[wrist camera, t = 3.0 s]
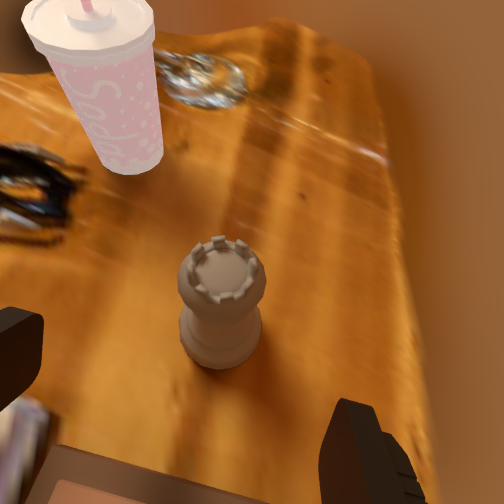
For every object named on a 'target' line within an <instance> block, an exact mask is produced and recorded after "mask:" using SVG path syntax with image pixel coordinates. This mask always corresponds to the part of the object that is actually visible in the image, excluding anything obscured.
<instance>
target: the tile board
mask: <svg viewBox="0 0 504 504" xmlns="http://www.w3.org/2000/svg"><path fill="white" fill-rule="evenodd" d="M25 504H269V503H265V502H262V501H258V500H255V499H251V498H248V497H244V496H241V495H237V494H234V493H230V492H227V491H223V490H220V489H216V488H213V487H209V486H206V485H202V484H199V483H195V482H192V481H188V480H185V479H181V478H178V477H174V476H171V475H167V474H164V473H160V472H157V471H153V470H150V469H146V468H142V467H139V466H135V465H132V464H128V463H125V462H121V461H118V460H114V459H111V458H107V457H104V456H100V455H97V454H93V453H90V452H86V451H83V450H79V449H76V448H72V447H69V446H65V445H53V446H52V447H51V449H50V451H49V454H48V456H47V458H46V460H45V462H44V464H43V466H42V468H41V470H40V473H39V475H38V477H37V479H36V481H35V483H34V485H33V487H32V489H31V492H30V494H29V496H28V498H27V500H26V502H25Z"/></svg>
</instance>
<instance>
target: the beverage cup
mask: <svg viewBox="0 0 504 504" xmlns="http://www.w3.org/2000/svg"><path fill="white" fill-rule="evenodd" d="M21 20H22V22H23V24H24V26H25V28H26V31H27V33H28V35H29V37H30V39H31V40H32V42H33V44H34V46H35V48H36V50H37V51H39V52H40V53H42V54H43V55H45V56H46V58H47V60H48V62H49V63H50V65H51V67H52V69H53V71H54V73H55V75H56V77H57V79H58V81H59V82H60V84H61V86H62V88H63V90H64V92H65V94H66V96H67V98H68V100H69V101H70V103H71V105H72V107H73V109H74V111H75V113H76V115H77V117H78V118H79V120H80V122H81V124H82V126H83V128H84V130H85V132H86V134H87V135H88V137H89V139H90V141H91V143H92V145H93V147H94V149H95V151H96V152H97V154H98V156H99V158H100V160H101V162H102V164H103V165H104V166H105V167H106V168H108V169H109V170H111V171H112V172H115V173H119V174H123V175H132V174H140V173H143V172H146V171H149V170H150V169H152V168H153V167H154V166H156V165H157V164H158V163H159V162H160V160H161V158H162V156H163V139H162V130H161V121H160V112H159V103H158V94H157V85H156V76H155V67H154V58H153V48H152V42H153V41H154V40H155V26H154V16H153V10H152V9H151V7H150V6H149V5H148V4H147V3H146V1H145V0H33V1H32V2H30V3H29V4H28V5H27V6H26V7H25V10H24V12H23V15H22V18H21Z"/></svg>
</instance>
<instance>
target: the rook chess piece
mask: <svg viewBox="0 0 504 504" xmlns="http://www.w3.org/2000/svg"><path fill="white" fill-rule="evenodd" d="M177 278H178V292H179V294H180V295H181V297H182V299H183V301H184V303H185V305H184V308H183V310H182V313H181V316H180V319H179V326H180V341H181V343H182V345H183V347H184V349H185V351H186V352H187V354H188V356H189V357H191V358H192V359H193V360H194V361H196V362H197V363H198V364H199V365H201V366H204V367H208V368H212V369H215V370H221V369H227V368H233V367H236V366H237V365H239V364H240V363H242V362H244V361H245V360H247V359H248V358H249V357H250V356H251V354H252V353H253V351H254V350H255V348H256V347H257V346H258V343H259V338H260V333H261V327H262V322H261V316H260V311H259V308H258V307H257V304H258V303H259V301H260V300H261V299H262V297H263V294H264V290H265V285H266V276H265V271H264V266H263V264H262V263H261V262H260V260H259V259H258V257H257V256H256V254H255V253H254V252H253V251H251V250H250V249H249V245H247V244H246V243H244V242H243V241H241V240H240V239H238V240H237V242H232V241H228V240H225V235H222V236H212V241H209V242H207V243H205V244H203V245H201V243H200V242H199V243H198V244H197V245H196V246H195V247H194V248H193V249H192V250H191V251H190V253H189V254H188V255H187V257H186V258H185V259H184V260H183V262H182V264H181V267H180V269H179V272H178V275H177Z"/></svg>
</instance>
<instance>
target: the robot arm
mask: <svg viewBox="0 0 504 504" xmlns="http://www.w3.org/2000/svg"><path fill="white" fill-rule="evenodd" d="M43 330H44V319H43V317H42V316H41V315H40V314H37V313H34V312H30V311H26V310H23V309H19V308H15V307H6V308H4V309H2V310H0V412H1V411H2V410H3V409H4V408H5V407H7V406H8V405H9V404H10V403H11V402H13V401H14V400H15V399H16V398H17V397H18V396H20V395H21V394H22V393H23V392H24V391H25V390H27V389H28V388H29V387H30V385H31V384H32V383H33V382H34V380H35V379H36V377H37V375H38V373H39V370H40V367H41V360H42V345H43ZM318 471H319V481H320V491H321V500H322V504H428V503H426V502H425V496H424V493H423V491H422V489H421V486H420V484H419V482H417V477H416V474H415V472H414V470H413V467H412V465H411V463H410V460H409V458H408V455H407V454H406V453H405V451H404V450H403V449H402V447H401V446H400V445H399V444H398V442H397V441H396V440H395V439H394V437H393V436H392V435H391V434H389V433H385V432H382V431H381V428H380V425H379V422H378V419H377V417H376V414H375V411H374V409H373V407H371V406H369V405H366V404H362V403H358V402H355V401H351V400H347V399H344V398H341V399H340V400H339V401H338V403H337V405H336V407H335V410H334V413H333V415H332V418H331V421H330V423H329V426H328V429H327V431H326V434H325V437H324V439H323V442H322V445H321V449H320V454H319V464H318Z"/></svg>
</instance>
